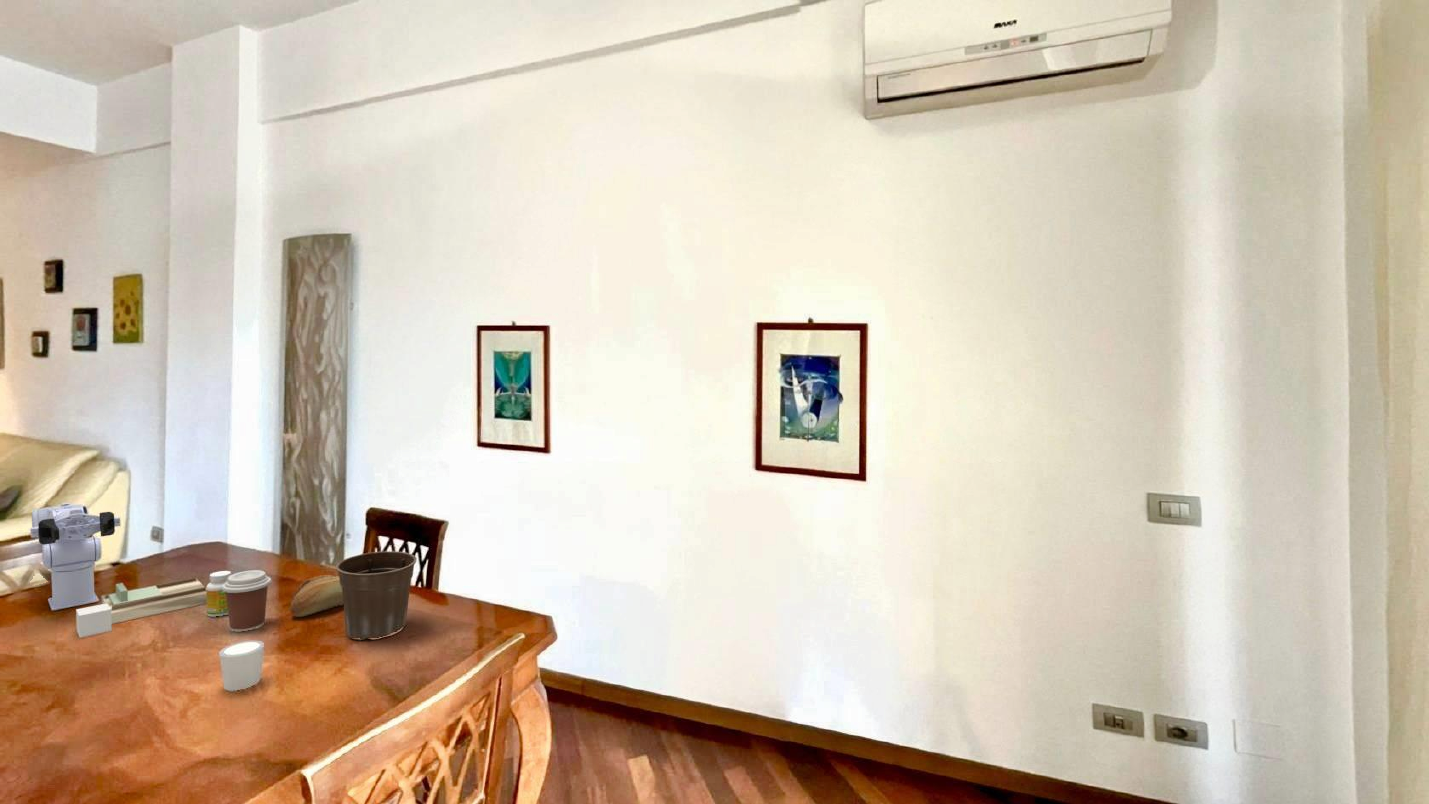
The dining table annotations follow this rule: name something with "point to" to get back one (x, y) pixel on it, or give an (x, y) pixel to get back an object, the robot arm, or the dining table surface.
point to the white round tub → (241, 664)
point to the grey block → (93, 620)
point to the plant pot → (375, 592)
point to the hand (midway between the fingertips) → (81, 531)
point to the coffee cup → (246, 599)
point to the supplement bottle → (217, 594)
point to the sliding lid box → (160, 600)
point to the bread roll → (317, 595)
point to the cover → (133, 594)
